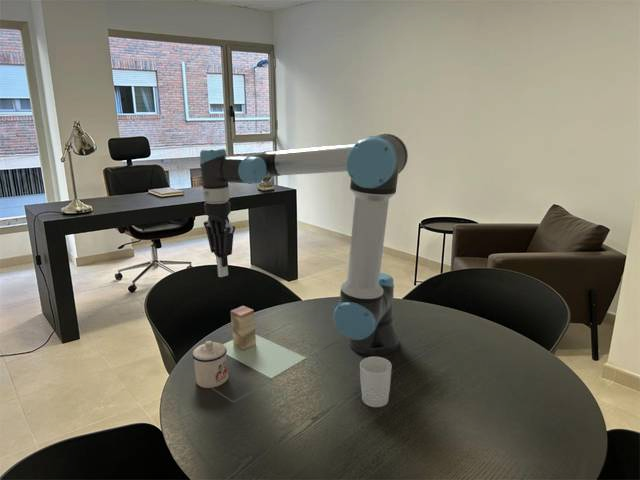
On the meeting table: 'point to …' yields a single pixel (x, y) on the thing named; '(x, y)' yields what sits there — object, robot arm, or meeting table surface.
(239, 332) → the oak block
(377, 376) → the white cup
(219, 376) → the teacup with lid
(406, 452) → the meeting table surface
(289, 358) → the rubber mat
